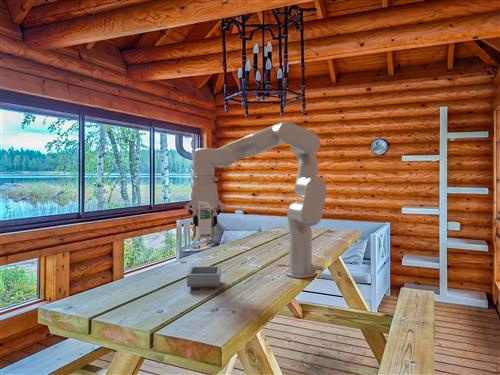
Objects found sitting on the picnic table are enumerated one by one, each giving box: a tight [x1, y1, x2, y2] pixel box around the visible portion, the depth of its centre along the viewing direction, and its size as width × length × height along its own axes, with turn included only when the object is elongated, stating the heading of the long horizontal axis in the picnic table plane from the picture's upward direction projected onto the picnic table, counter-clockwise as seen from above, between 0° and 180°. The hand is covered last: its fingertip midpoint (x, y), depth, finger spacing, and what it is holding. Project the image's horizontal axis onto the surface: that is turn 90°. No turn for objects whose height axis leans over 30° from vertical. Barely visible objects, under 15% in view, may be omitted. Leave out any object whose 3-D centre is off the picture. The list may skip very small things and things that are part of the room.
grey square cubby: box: [186, 265, 222, 291], centre depth 147 cm, size 12×12×6 cm
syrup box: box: [196, 201, 215, 240], centre depth 146 cm, size 6×6×14 cm
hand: (205, 225), depth 146 cm, fingers closed on syrup box, 6 cm apart
